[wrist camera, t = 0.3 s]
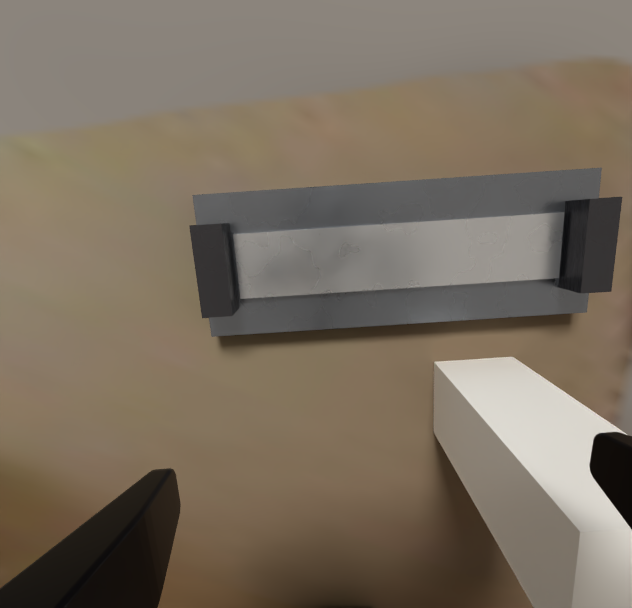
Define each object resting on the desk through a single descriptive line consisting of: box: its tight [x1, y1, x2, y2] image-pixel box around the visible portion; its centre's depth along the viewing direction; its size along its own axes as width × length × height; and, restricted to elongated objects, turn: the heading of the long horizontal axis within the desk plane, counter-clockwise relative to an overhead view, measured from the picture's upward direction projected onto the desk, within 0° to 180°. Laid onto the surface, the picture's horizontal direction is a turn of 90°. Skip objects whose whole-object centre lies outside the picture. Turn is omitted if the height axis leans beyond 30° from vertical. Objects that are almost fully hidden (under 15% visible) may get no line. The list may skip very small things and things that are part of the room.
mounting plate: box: [190, 168, 622, 337], centre depth 20 cm, size 8×22×3 cm, turn 94°
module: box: [434, 357, 632, 608], centre depth 17 cm, size 5×5×13 cm
